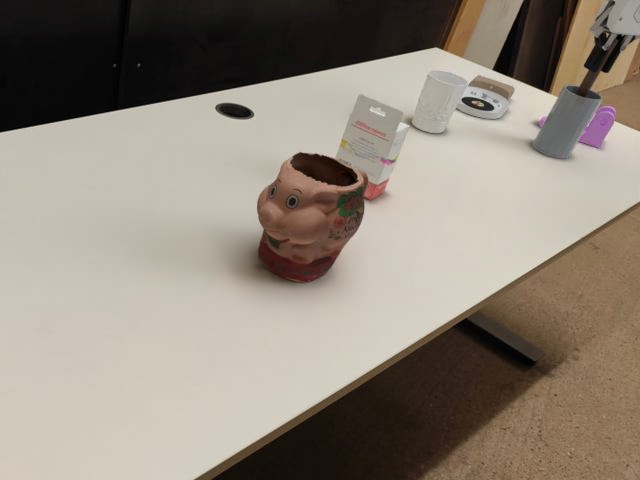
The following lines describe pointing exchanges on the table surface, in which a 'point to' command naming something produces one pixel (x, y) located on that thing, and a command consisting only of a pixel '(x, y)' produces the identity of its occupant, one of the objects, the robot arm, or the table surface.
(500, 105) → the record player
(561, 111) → the grey cylindrical holder
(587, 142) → the bracket
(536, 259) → the table surface
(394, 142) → the ink cartridge box
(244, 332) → the table surface
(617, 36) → the robot arm
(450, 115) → the white cup
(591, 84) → the brush
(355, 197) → the decorative planter
